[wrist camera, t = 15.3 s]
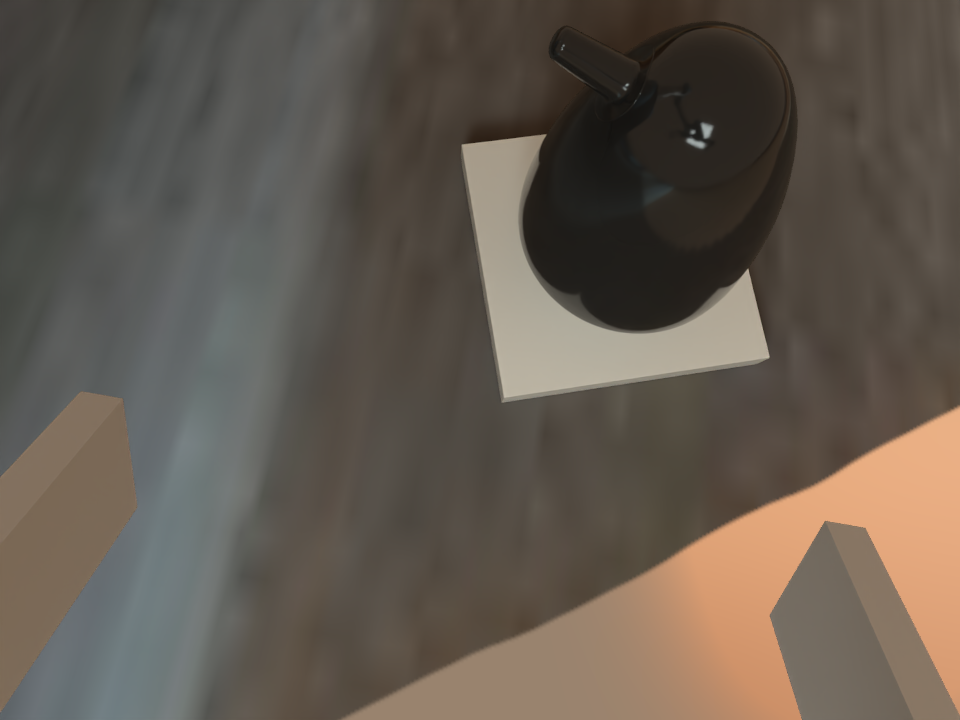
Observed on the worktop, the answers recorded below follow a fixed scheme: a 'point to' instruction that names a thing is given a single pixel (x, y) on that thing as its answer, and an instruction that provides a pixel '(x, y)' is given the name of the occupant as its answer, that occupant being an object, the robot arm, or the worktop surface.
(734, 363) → the tile pad
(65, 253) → the worktop surface
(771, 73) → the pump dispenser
